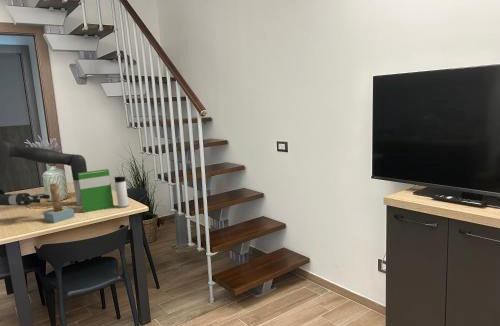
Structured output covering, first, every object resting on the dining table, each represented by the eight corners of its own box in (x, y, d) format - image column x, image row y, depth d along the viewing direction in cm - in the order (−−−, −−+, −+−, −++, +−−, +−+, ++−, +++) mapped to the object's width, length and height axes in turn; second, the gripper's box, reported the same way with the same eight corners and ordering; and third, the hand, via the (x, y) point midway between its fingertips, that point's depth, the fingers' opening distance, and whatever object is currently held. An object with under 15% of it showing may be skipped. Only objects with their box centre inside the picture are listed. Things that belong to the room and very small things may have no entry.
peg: (61, 215, 225) (55, 183, 221) (64, 216, 222) (59, 183, 218) (53, 217, 221) (48, 184, 218) (57, 218, 219) (51, 185, 215)
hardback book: (84, 212, 230) (78, 175, 226) (83, 209, 237) (77, 173, 232) (113, 207, 238) (108, 170, 233) (112, 204, 244) (107, 168, 240)
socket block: (64, 214, 230) (63, 206, 229) (74, 216, 223) (73, 208, 222) (44, 219, 221) (43, 211, 220) (54, 223, 213) (52, 214, 213)
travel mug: (115, 208, 236) (111, 177, 232) (122, 204, 242) (118, 174, 238) (123, 208, 234) (119, 177, 230) (130, 205, 240) (126, 175, 236)
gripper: (9, 196, 215) (35, 195, 213) (27, 190, 229) (51, 189, 227) (12, 209, 216) (37, 208, 214) (29, 202, 230) (53, 201, 228)
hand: (44, 198), depth 220 cm, fingers open, 8 cm apart
